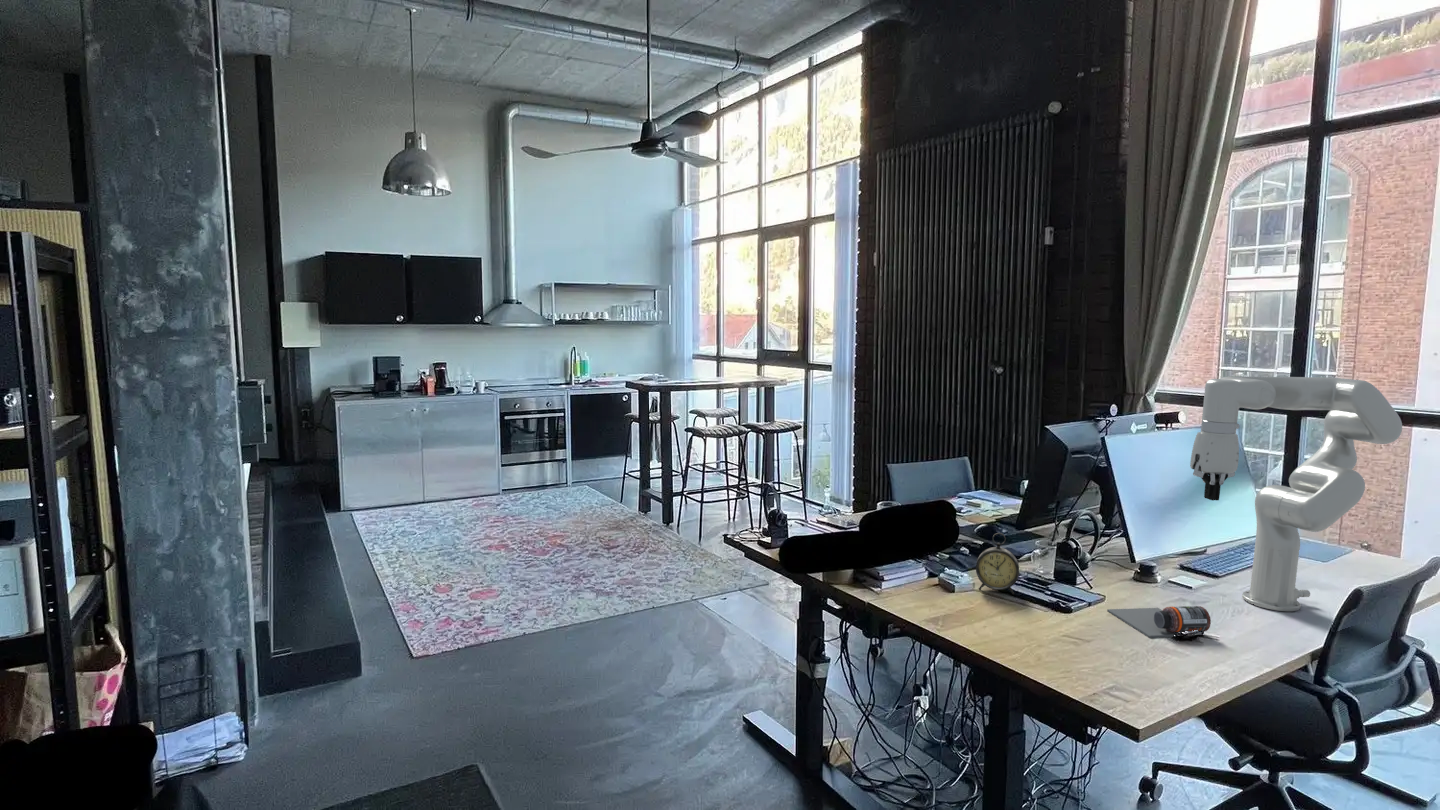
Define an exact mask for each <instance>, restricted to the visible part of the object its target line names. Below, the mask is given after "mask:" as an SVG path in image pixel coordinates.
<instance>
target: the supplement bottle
mask: <svg viewBox="0 0 1440 810" xmlns="http://www.w3.org/2000/svg"><path fill="white" fill-rule="evenodd" d="M1161 610H1162V611H1156V612H1155V614H1154V622H1155V624H1156V626H1157V627H1158V628H1163V629H1166V630H1167V631H1169V632H1185V631H1192V630H1193V631H1194V630H1198V631H1202V633H1204V632H1207V631H1209V629H1210V628H1211V621H1212V620H1211V619H1212V618H1211V616H1210V614H1209V611H1207V609H1206V608H1205V607H1203V606H1199V605H1192V606H1190V605H1188V606H1186V605H1185V606H1180V605H1179V606H1166V607H1164V608H1162V609H1161Z"/></svg>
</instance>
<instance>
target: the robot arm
mask: <svg viewBox="0 0 1440 810" xmlns="http://www.w3.org/2000/svg"><path fill="white" fill-rule="evenodd" d="M1202 406H1203V407H1202V417H1201V424H1200V431H1198V432H1197V433H1196V435H1195V439H1194V443H1193V445H1192V450H1191V457H1190V462H1189V465H1190V466H1189V467H1190V469H1192V470H1193V473H1192V475H1193V476H1194V477H1198V478H1200V479H1202V482H1203V483H1205V484H1204V493H1203V497H1204V499H1207V500H1210V501H1220V494H1221V486H1223V485H1224V483H1225V481H1226V480H1227V479H1228V478H1232V477H1234V476H1235V475H1236V471H1237V470H1238V467H1239V461H1240V460H1239V458H1240V444H1239V443H1240V442H1239V437H1238V435H1239V434H1237V430H1238V429H1240V424H1239V423H1238V419H1239V409H1240V408H1242V409H1243V408H1244V409H1250V410H1262V409H1266V408H1273V409H1279V410H1288V411H1289V410H1290V411H1328V412H1327V414H1326V416H1325V418H1324V419H1323V420H1324V421H1323V441H1322V443H1321V446H1320V447H1319V448H1318V450H1317V451H1315V452H1314V453H1313V454H1312V455H1311V456H1310V457H1308V458H1307V459H1306V460H1304V461H1303V462H1302V463H1301V464H1300V465H1299V466H1298V467H1296V468H1295V469H1294V470H1293V471H1292V473H1291V474H1290V475H1289V478H1288V483H1289V486H1287V485H1280V484H1270V485H1267V486H1264V487H1262V488H1261V489H1260V490H1259V491H1257V494H1256V496H1255V499H1254V510H1255V518H1256V531H1255V532H1256V533H1255V542H1254V550H1253V560H1252V561H1253V562H1252V568H1251V570H1252V571H1251V580H1250V585H1249V586H1250V587H1249V590H1245V591H1243V592H1242V596H1241V597H1242V599H1243V600H1244V599H1245V600H1246V601H1245V600H1244V601H1245V602H1247V601H1248V602H1247V603H1249V604H1252V605H1253V604H1254V606H1256V607H1259V608H1263V609H1265V610H1266V609H1267V610H1272V611H1278V612H1297V611H1299V610H1301V606H1302V605H1301V602H1299V601H1298V599H1300V598H1310V596H1311V592H1310V590H1309V589H1298V588H1297V587H1296V582H1297V573H1298V564H1299V558H1300V557H1299V556H1300V549H1301V537H1300V536H1301V535H1300V534H1299V530H1302V531H1307V532H1309V533H1310V532H1311V533H1317V532H1322V531H1325V530H1327V529H1328V528H1330V527H1331V526H1333V524H1334V523H1336V522H1337V521H1338V520H1339V519H1341V518H1342V517H1343V516H1344V515H1346V513H1348V512H1349V511H1350V510H1351V509H1353V508H1354V507H1355V506H1356V505H1357V504H1358V503H1359V502H1360V501H1361V499H1362V497H1363V495H1364V493H1365V491H1366V482H1365V478H1364V477H1363V476H1362V475H1361V474H1360V473H1359V472H1358V471H1356V470H1355V469H1354V468H1355V466H1356V464H1357V462H1358V455H1357V452H1356V448H1355V442H1354V441H1358V442H1359V441H1360V442H1366V443H1371V444H1376V445H1387V444H1391V443H1394V442H1396V441H1397V439H1399V437H1400V436H1401V435H1402V431H1403V423H1402V419H1401V417H1400V416H1399V414H1398V412H1397V411H1396V410H1395V409H1394V407H1393V406H1392V405H1391V404H1390V402H1389V401H1388V400H1387V398H1386V397H1385V396H1384V394H1383V393H1382V392H1381V390H1379V389H1378V388H1377V387H1376V386H1375V385H1374V384H1373V383H1371V382H1369V381H1368V380H1367V381H1366V380H1361V379H1350V378H1341V377H1339V378H1338V377H1327V376H1326V377H1323V376H1322V377H1321V376H1320V377H1317V376H1316V377H1315V376H1314V377H1313V376H1312V377H1308V376H1242V375H1241V376H1234V375H1233V376H1232V375H1229V376H1223V377H1221V378H1211V379H1208V380H1207V381H1206V382H1205V386H1204V397H1203V403H1202ZM1298 529H1299V530H1298Z"/></svg>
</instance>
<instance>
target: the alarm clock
mask: <svg viewBox="0 0 1440 810" xmlns="http://www.w3.org/2000/svg"><path fill="white" fill-rule="evenodd" d="M996 535H1001V536H1002V537H1003V538H1004V541H1003V542H1002V543H1000V542H996V541H995V540H994V539H995V536H996ZM1006 540H1007V538H1006V536H1005V535H1004V534H1003V533H1001V532H997V533H994V534H993V536H992V542H993V543H994V544H995V545H996V546H993V547H989V548H986V549H984V550H982V552H981V553H980V554H979V556H978V558H977V560H976V564H975V573H976V576H977V578H978V580H979V581H980V583H981V584H980V586H979V587H978V590H982V588H983V587H987V588H989V589H992V590H995V591H1004V590H1007V589H1008V591H1010V592H1011V594H1012V595H1015V592H1014V590H1013V589H1012V587H1013V586H1014V585H1015V584H1016V582H1017V581H1018V578H1019V576H1020V566H1019V565H1020V564H1019V562H1018V561H1019V560H1018V559H1017V558H1016V556H1015V555H1014V553H1012V551H1010V550H1008V549H1006V548H1004V547H1001V545H1004V544H1005V542H1006Z"/></svg>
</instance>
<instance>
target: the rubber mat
mask: <svg viewBox="0 0 1440 810" xmlns="http://www.w3.org/2000/svg"><path fill="white" fill-rule="evenodd" d="M1162 610H1163V609H1161V608H1160V607H1142V608H1140V607H1137V608H1135V607H1134V608H1108V609H1107V610H1106V611H1107V612H1108V613H1109V614H1111V615H1112V616H1114V617H1116V618H1117V619H1119V620H1121V622H1124V623H1125V624H1127V625H1128V626H1130V627H1132V629H1135V630H1136V631H1138V632H1140V633H1141V634H1143V635H1144V636H1146V637H1147V638H1149V639H1151V638H1153V639H1154V638H1155V639H1157V638H1174V637H1173V636H1174V635H1175V634H1174V632H1169V631H1167V630H1166V629H1163V628H1158V627H1157V626H1156V624H1155V622H1154V614H1155V612H1156V611H1162Z"/></svg>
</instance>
